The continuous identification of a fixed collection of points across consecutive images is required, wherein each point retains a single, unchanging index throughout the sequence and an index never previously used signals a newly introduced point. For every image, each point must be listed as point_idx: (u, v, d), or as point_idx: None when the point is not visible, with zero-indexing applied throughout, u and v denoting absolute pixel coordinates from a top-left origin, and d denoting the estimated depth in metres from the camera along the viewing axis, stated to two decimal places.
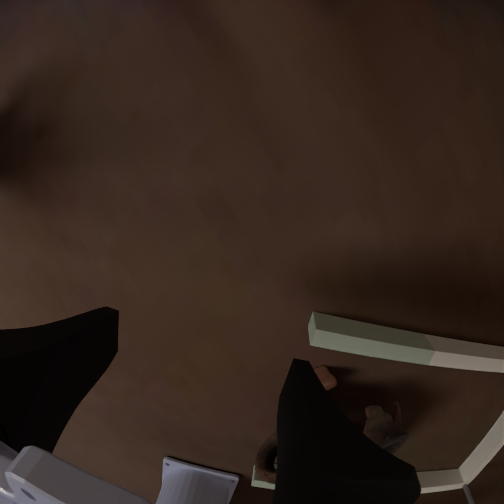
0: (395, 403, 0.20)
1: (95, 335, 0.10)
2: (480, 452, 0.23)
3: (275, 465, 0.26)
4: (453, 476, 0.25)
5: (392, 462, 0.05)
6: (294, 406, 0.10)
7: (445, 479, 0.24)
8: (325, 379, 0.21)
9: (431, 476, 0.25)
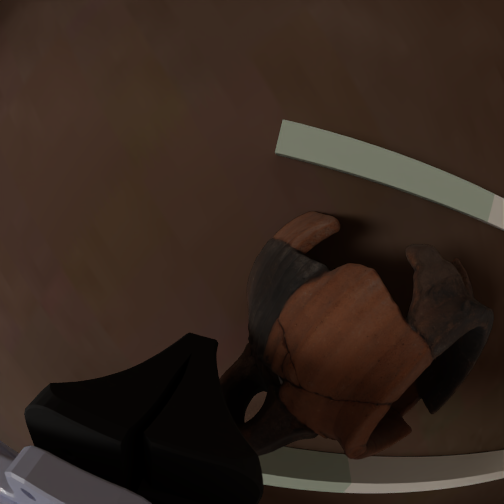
0: (454, 262, 0.11)
1: None
2: None
3: None
4: (500, 460, 0.16)
5: (232, 443, 0.06)
6: None
7: (491, 464, 0.15)
8: (317, 220, 0.12)
9: (473, 461, 0.16)
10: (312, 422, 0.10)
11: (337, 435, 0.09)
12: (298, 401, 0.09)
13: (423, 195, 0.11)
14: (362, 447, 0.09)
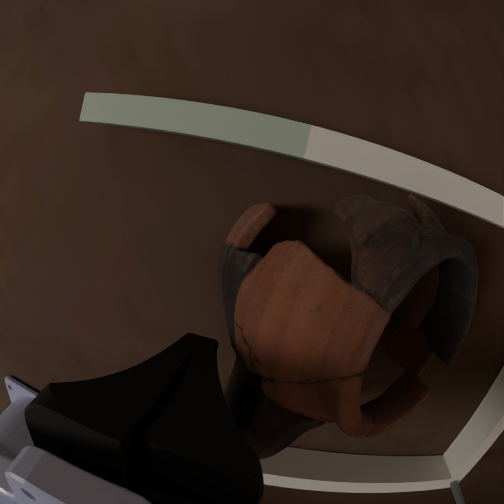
0: (409, 199, 0.10)
1: None
2: (478, 425, 0.15)
3: None
4: (433, 467, 0.16)
5: (233, 443, 0.06)
6: None
7: (419, 471, 0.16)
8: (252, 212, 0.12)
9: (393, 464, 0.16)
10: (305, 410, 0.09)
11: (332, 418, 0.09)
12: (278, 393, 0.09)
13: (208, 136, 0.11)
14: (360, 424, 0.08)
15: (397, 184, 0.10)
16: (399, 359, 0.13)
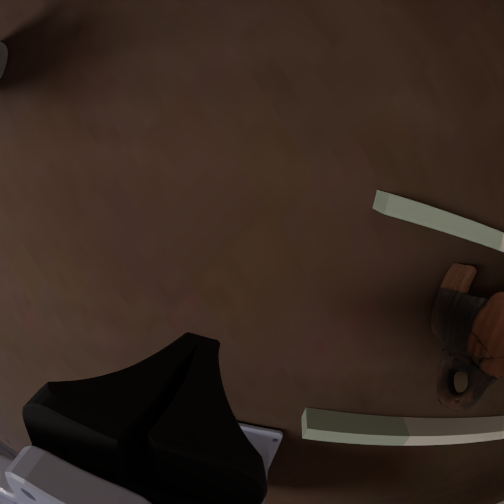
0: None
1: (187, 366, 0.10)
2: None
3: (328, 412, 0.23)
4: None
5: (236, 444, 0.06)
6: None
7: None
8: (464, 271, 0.18)
9: (491, 421, 0.22)
10: (496, 372, 0.15)
11: None
12: (491, 365, 0.15)
13: (463, 237, 0.17)
14: None
15: None
16: None
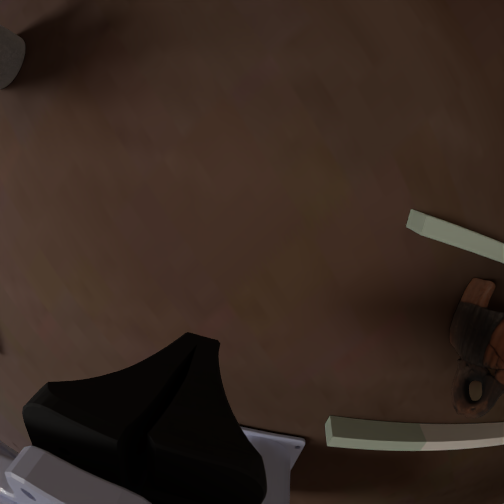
0: None
1: (187, 366, 0.10)
2: None
3: (351, 419, 0.23)
4: None
5: (236, 444, 0.06)
6: None
7: None
8: (484, 286, 0.18)
9: (499, 427, 0.22)
10: None
11: None
12: None
13: (488, 257, 0.17)
14: None
15: None
16: None
